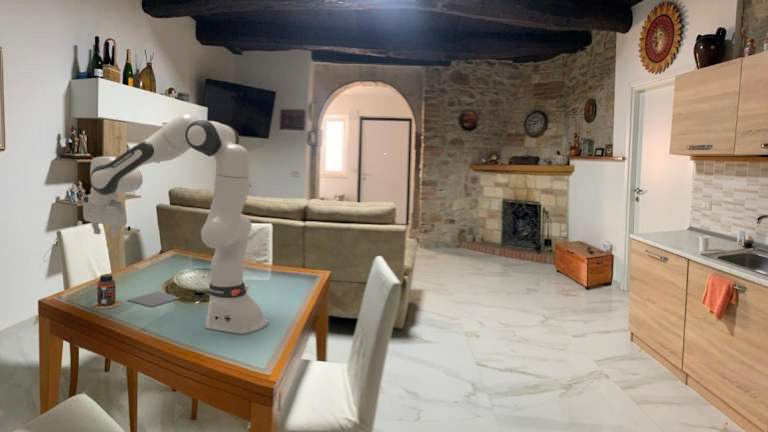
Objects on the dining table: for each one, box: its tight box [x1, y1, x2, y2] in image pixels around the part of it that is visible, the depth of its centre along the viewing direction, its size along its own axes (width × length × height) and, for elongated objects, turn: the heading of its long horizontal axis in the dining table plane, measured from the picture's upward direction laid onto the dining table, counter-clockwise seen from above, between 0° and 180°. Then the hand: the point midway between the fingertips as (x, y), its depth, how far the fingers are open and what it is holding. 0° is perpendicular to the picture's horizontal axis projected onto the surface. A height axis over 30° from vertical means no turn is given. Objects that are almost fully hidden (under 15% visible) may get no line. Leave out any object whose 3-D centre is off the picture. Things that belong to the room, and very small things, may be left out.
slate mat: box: [126, 290, 180, 308], centre depth 184 cm, size 14×14×1 cm
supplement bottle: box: [96, 273, 117, 306], centre depth 174 cm, size 6×6×11 cm
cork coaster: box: [90, 299, 123, 310], centre depth 175 cm, size 10×10×1 cm
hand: (105, 235), depth 172 cm, fingers open, 8 cm apart
